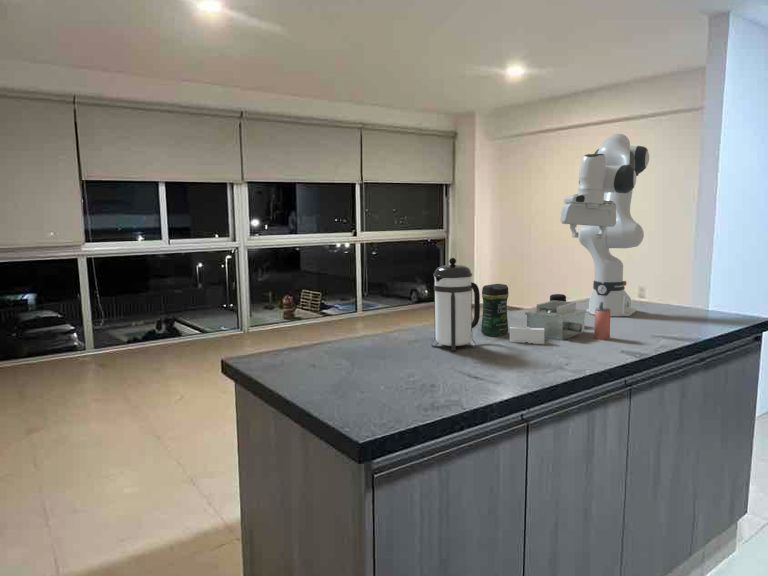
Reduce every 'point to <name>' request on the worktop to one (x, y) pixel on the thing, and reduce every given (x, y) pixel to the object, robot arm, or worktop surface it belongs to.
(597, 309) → the spout can
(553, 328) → the pale green square box
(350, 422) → the worktop surface
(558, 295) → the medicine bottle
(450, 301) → the coffee press
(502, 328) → the coffee jar
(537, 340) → the white stepped block
